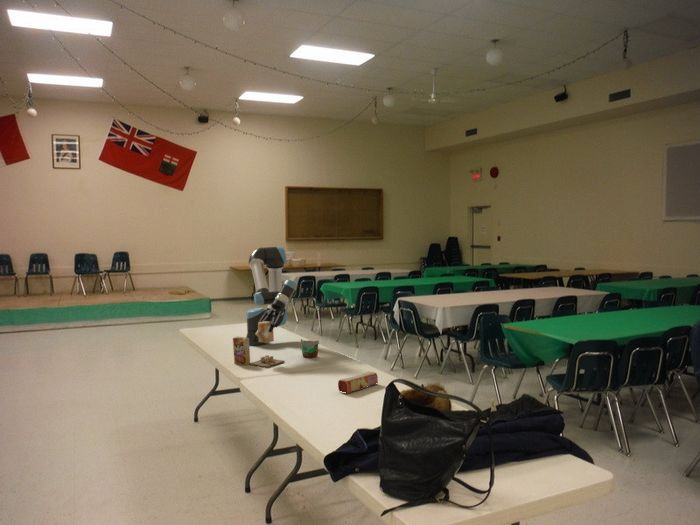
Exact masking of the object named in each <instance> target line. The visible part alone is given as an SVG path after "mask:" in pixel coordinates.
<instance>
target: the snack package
mask: <svg viewBox="0 0 700 525" xmlns="http://www.w3.org/2000/svg"><path fill="white" fill-rule="evenodd" d="M378 378H379V377H378V374H377V373H376V372H375V371H366V372H364V373H360V374H359V373H358V374H356V375H352V376H349V377H345V378H340V379H339V380H338V383H337V387H338V390H339V392H340V391H342V392H346V393H348V394H350V393H349V392H351V391H354V392H356V391H355V390H357V391H359V390H358V389H360V390H362V389H361V388H363V389H365V388H364V387H366V388H368V387H367V386H370V385H373V384H376V383H377V384H378V383H379V382H378V381H379V380H378ZM377 384H376V385H377ZM373 386H374V385H373ZM370 387H371V386H370ZM351 393H352V392H351Z"/></svg>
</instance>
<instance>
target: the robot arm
mask: <svg viewBox="0 0 700 525" xmlns="http://www.w3.org/2000/svg"><path fill="white" fill-rule="evenodd" d="M286 264H287V254H286V251H285V248H284V247H282V246H266V247H258V248H255V249H254V250H253V251H252V252H251V254H250V255H249V258H248V266H249V268H250V269H251V273H252V278H253V281H254V282H253V283H254V286H255V291H256V292H255V293H254V294H253V301H254V304H255V305H256V306H266V305H267V307H266V308H267V309H265V307H255V308H251V309H249V310H247V312H246V329H247V330H246V332H247V334H246V337H245V338H249V347H250V346H253V347H257V346H264V345H267V344H268V343H262V342H259V338H258V323H259V322H264V321H269V322H271V326H269V327H268V329H267V330H266V332H265V334H264V336H265V337H266V338H268V336H269V334H270V332H272V330H273V331H274V329H275V328H278V327H280V326H284V325H285V324H286V323H287V320H288V309H287V308H286V306H287V305H288V304H289V303H290V301H291V300H292V297H293V294H294V292H295V291H296V288H297V283H296V282H295V281H293V280H291V279H286V280H284V283H283V278H282V276H283V275H282V274H283V271H282V270H283V269H284V267H285V266H284V265H286ZM264 266H265V267H266V269H267V270H268V282H267V276H266V272H265V269H264Z"/></svg>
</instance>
